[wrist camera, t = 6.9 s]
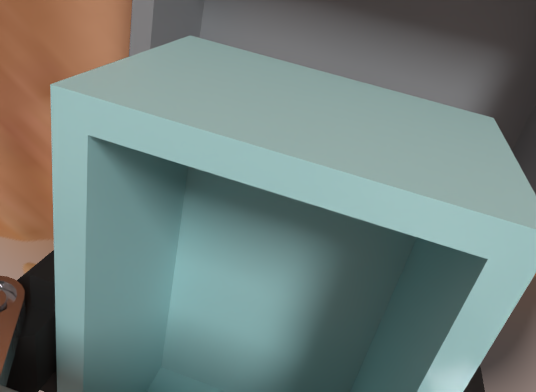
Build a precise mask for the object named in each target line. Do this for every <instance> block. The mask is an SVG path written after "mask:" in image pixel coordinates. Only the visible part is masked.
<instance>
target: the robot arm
mask: <svg viewBox="0 0 536 392" xmlns="http://www.w3.org/2000/svg"><path fill="white" fill-rule="evenodd" d="M39 390H42V391H44V392H57V363H56V316H55V270H54V250H53V251H52V252H51V253H50V254H48V255H47V256H46V257H45V258H44V259H42V260H41V261H40V262H39V263H37V264H36V265H35V266H34V267H33V268H31V269H30V270H29V271H28V272H27V273H25V274H24V275H23V276H22V277H20V278H19V279H18V280H17V281H16V280H15V279H12V278H9V277H5V276H0V392H38V391H39ZM463 392H485V390H484V384H483V379H482V373H481V368H480V365H479V367H478V368H477V370H476V372H475V373H474V375H473V377H472V378H471V380H470V381H469V383H468V385H467V386H466V388H465V390H464V391H463Z"/></svg>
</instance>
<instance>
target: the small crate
mask: <svg viewBox="0 0 536 392" xmlns="http://www.w3.org/2000/svg"><path fill="white" fill-rule="evenodd" d="M50 85H51V132H52V178H53V224H54V270H55V316H56V363H57V392H463V391H464V390H465V388H466V386H467V385H468V383H469V381H470V380H471V378H472V377H473V375H474V373H475V372H476V370H477V368H478V367H479V365H480V363H481V362H482V360H483V358H484V357H485V355H486V353H487V352H488V350H489V349H490V347H491V345H492V344H493V342H494V340H495V339H496V337H497V335H498V334H499V332H500V331H501V329H502V327H503V326H504V324H505V322H506V321H507V319H508V317H509V315H510V314H511V312H512V311H513V309H514V307H515V306H516V304H517V303H518V301H519V299H520V298H521V296H522V294H523V293H524V291H525V289H526V288H527V286H528V285H529V283H530V281H531V279H532V278H533V276H534V275H535V273H536V195H535V193H534V191H533V189H532V187H531V185H530V184H529V182H528V180H527V178H526V176H525V174H524V173H523V171H522V169H521V167H520V165H519V163H518V162H517V160H516V158H515V156H514V154H513V152H512V151H511V149H510V147H509V145H508V143H507V141H506V140H505V138H504V136H503V134H502V132H501V130H500V129H499V127H498V125H497V123H496V121H495V119H494V118H492V117H489V116H485V115H481V114H478V113H474V112H470V111H467V110H463V109H459V108H455V107H452V106H448V105H444V104H441V103H437V102H433V101H430V100H426V99H422V98H419V97H415V96H411V95H408V94H404V93H400V92H397V91H393V90H389V89H386V88H382V87H378V86H375V85H371V84H367V83H364V82H360V81H356V80H353V79H349V78H345V77H342V76H338V75H334V74H330V73H327V72H323V71H319V70H316V69H312V68H308V67H305V66H301V65H297V64H294V63H290V62H286V61H283V60H279V59H275V58H272V57H268V56H264V55H261V54H257V53H253V52H250V51H246V50H242V49H239V48H235V47H231V46H228V45H224V44H220V43H216V42H213V41H209V40H205V39H202V38H198V37H194V36H191V35H190V36H187V37H184V38H181V39H178V40H175V41H173V42H170V43H167V44H164V45H161V46H158V47H155V48H153V49H150V50H147V51H144V52H141V53H138V54H136V55H133V56H130V57H127V58H124V59H121V60H118V61H116V62H113V63H110V64H107V65H104V66H101V67H98V68H96V69H93V70H90V71H87V72H84V73H81V74H79V75H76V76H73V77H70V78H67V79H64V80H61V81H59V82H56V83H53V84H50Z"/></svg>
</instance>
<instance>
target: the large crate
mask: <svg viewBox="0 0 536 392" xmlns="http://www.w3.org/2000/svg"><path fill="white" fill-rule="evenodd" d="M190 35H191V36H194V37H198V38H202V39H205V40H209V41H213V42H216V43H220V44H224V45H228V46H231V47H235V48H239V49H242V50H246V51H250V52H253V53H257V54H261V55H264V56H268V57H272V58H275V59H279V60H283V61H286V62H290V63H294V64H297V65H301V66H305V67H308V68H312V69H316V70H319V71H323V72H327V73H330V74H334V75H338V76H342V77H345V78H349V79H353V80H356V81H360V82H364V83H367V84H371V85H375V86H378V87H382V88H386V89H389V90H393V91H397V92H400V93H404V94H408V95H411V96H415V97H419V98H422V99H426V100H430V101H433V102H437V103H441V104H444V105H448V106H452V107H455V108H459V109H463V110H467V111H470V112H474V113H478V114H481V115H485V116H489V117H492V118H494V119H495V121H496V123H497V125H498V127H499V129H500V130H501V132H502V134H503V136H504V138H505V140H506V141H507V143H508V145H509V147H510V149H511V151H512V152H513V154H514V156H515V158H516V160H517V162H518V163H519V165H520V167H521V169H522V171H523V173H524V174H525V176H526V178H527V180H528V182H529V184H530V185H531V187H532V189H533V191H534V193H535V195H536V0H133V1H132V18H131V34H130V51H129V57H130V56H133V55H136V54H138V53H141V52H144V51H147V50H150V49H153V48H155V47H158V46H161V45H164V44H167V43H170V42H173V41H175V40H178V39H181V38H184V37H187V36H190Z"/></svg>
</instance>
